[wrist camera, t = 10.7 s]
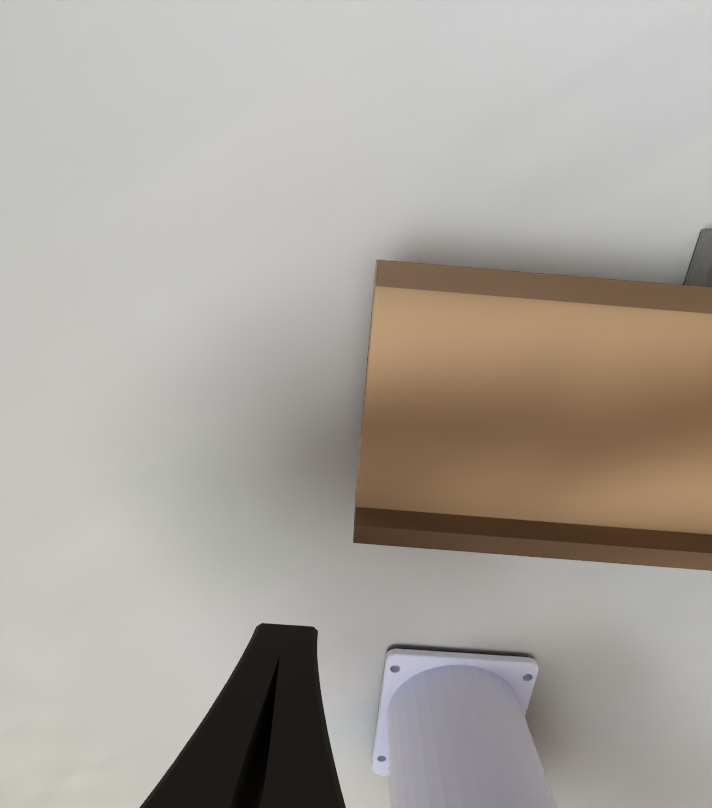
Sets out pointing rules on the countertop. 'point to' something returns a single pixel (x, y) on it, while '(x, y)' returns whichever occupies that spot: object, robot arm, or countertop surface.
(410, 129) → the countertop surface
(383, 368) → the beam
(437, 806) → the robot arm
